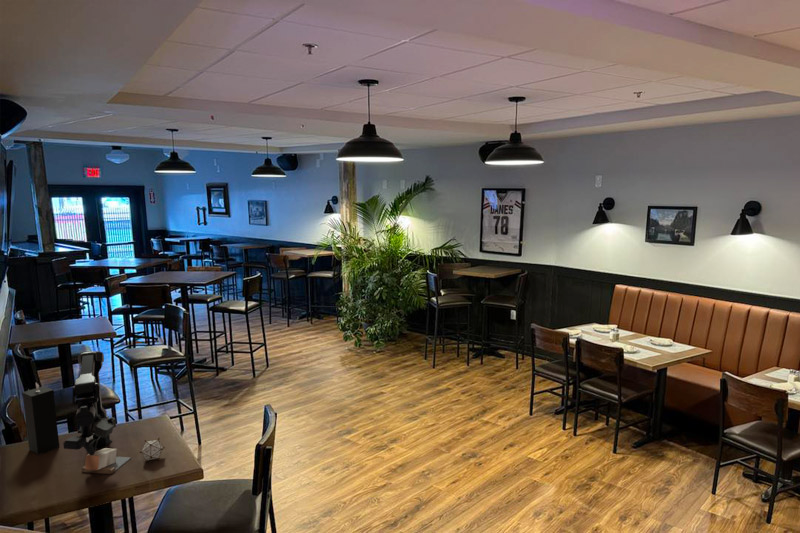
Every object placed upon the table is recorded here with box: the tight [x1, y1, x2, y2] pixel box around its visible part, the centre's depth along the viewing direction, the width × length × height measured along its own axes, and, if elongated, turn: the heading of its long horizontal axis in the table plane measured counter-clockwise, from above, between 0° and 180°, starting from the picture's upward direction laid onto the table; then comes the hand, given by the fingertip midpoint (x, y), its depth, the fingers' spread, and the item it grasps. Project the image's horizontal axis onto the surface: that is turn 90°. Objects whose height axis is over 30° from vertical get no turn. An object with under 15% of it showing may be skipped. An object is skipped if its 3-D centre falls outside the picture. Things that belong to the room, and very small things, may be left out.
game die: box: [139, 437, 166, 463], centre depth 195 cm, size 9×8×10 cm
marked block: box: [84, 447, 118, 470], centre depth 189 cm, size 5×5×10 cm
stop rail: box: [81, 465, 116, 475], centre depth 187 cm, size 12×2×2 cm, turn 83°
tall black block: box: [21, 382, 60, 456], centre depth 202 cm, size 8×8×28 cm
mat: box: [106, 456, 132, 472], centre depth 193 cm, size 12×9×1 cm
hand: (92, 454), depth 184 cm, fingers closed
